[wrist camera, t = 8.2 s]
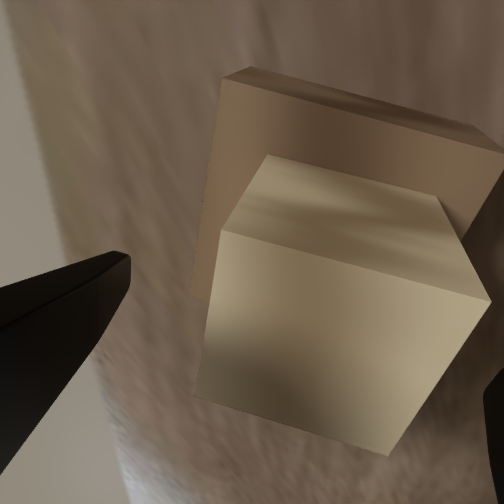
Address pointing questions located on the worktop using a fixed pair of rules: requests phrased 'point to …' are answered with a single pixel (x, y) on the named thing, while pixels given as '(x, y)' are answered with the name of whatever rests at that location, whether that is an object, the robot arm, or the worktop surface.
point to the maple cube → (335, 304)
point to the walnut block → (335, 151)
